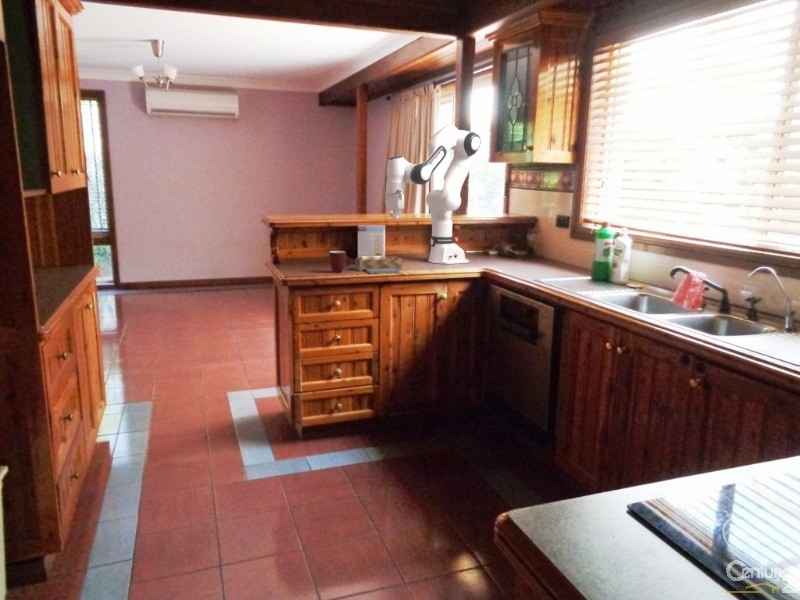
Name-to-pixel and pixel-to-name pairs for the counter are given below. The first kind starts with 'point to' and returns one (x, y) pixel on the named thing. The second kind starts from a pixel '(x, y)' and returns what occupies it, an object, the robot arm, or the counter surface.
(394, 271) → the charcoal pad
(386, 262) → the tan patterned box
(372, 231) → the cracker box
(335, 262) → the mug
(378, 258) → the birch bar
